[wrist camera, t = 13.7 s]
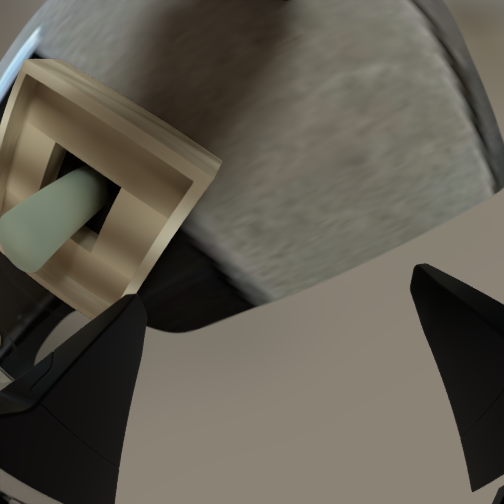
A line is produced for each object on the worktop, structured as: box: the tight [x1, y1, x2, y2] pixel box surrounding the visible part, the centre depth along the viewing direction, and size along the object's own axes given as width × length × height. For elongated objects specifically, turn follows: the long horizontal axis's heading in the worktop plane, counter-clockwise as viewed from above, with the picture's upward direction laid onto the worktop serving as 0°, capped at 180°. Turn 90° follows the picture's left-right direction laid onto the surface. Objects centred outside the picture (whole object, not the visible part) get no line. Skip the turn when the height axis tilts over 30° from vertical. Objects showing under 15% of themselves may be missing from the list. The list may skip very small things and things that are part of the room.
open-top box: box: [0, 59, 223, 320], centre depth 18 cm, size 16×16×4 cm
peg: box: [0, 166, 109, 273], centre depth 16 cm, size 4×4×9 cm
